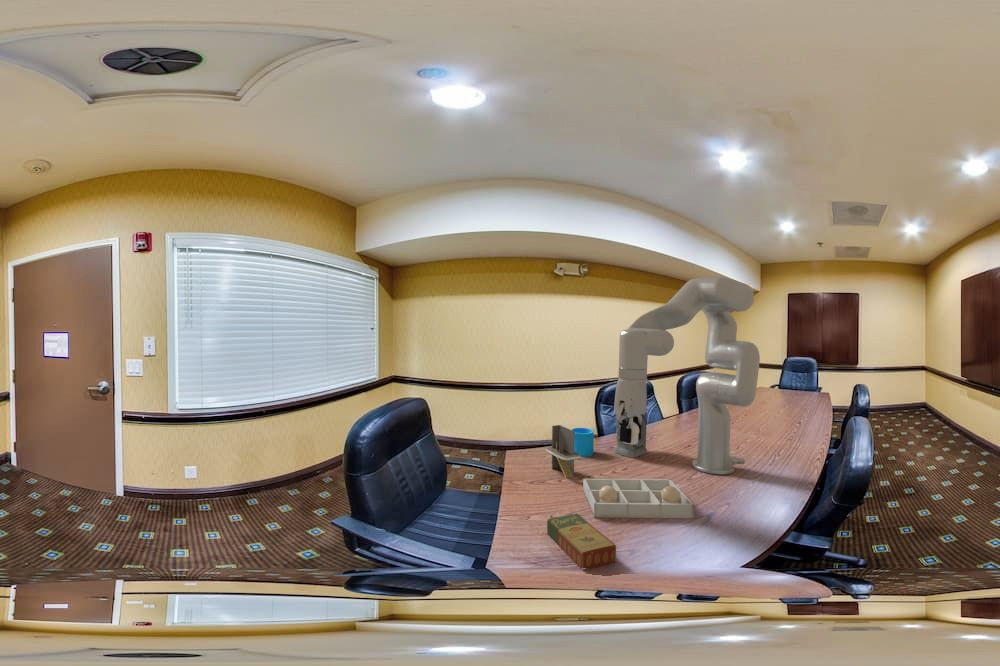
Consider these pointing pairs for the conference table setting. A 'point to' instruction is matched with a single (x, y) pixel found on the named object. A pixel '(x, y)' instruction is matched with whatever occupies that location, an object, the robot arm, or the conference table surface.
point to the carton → (581, 541)
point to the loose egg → (634, 433)
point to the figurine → (632, 449)
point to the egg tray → (636, 499)
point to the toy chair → (563, 450)
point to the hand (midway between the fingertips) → (630, 439)
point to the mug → (583, 441)
